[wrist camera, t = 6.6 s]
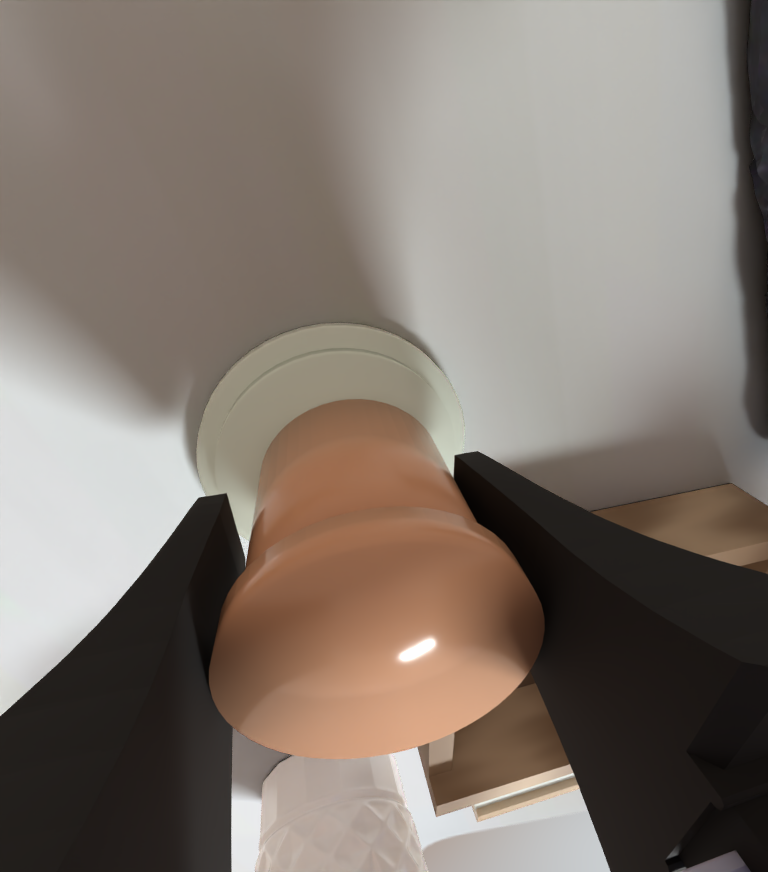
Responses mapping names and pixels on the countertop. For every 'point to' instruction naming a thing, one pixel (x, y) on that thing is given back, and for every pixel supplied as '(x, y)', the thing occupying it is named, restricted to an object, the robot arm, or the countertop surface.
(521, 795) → the frame lid
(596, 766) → the robot arm
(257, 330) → the countertop surface
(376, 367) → the saucer
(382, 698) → the tan bell-shaped knob
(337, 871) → the white cup
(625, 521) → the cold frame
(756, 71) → the dark slate chunk
